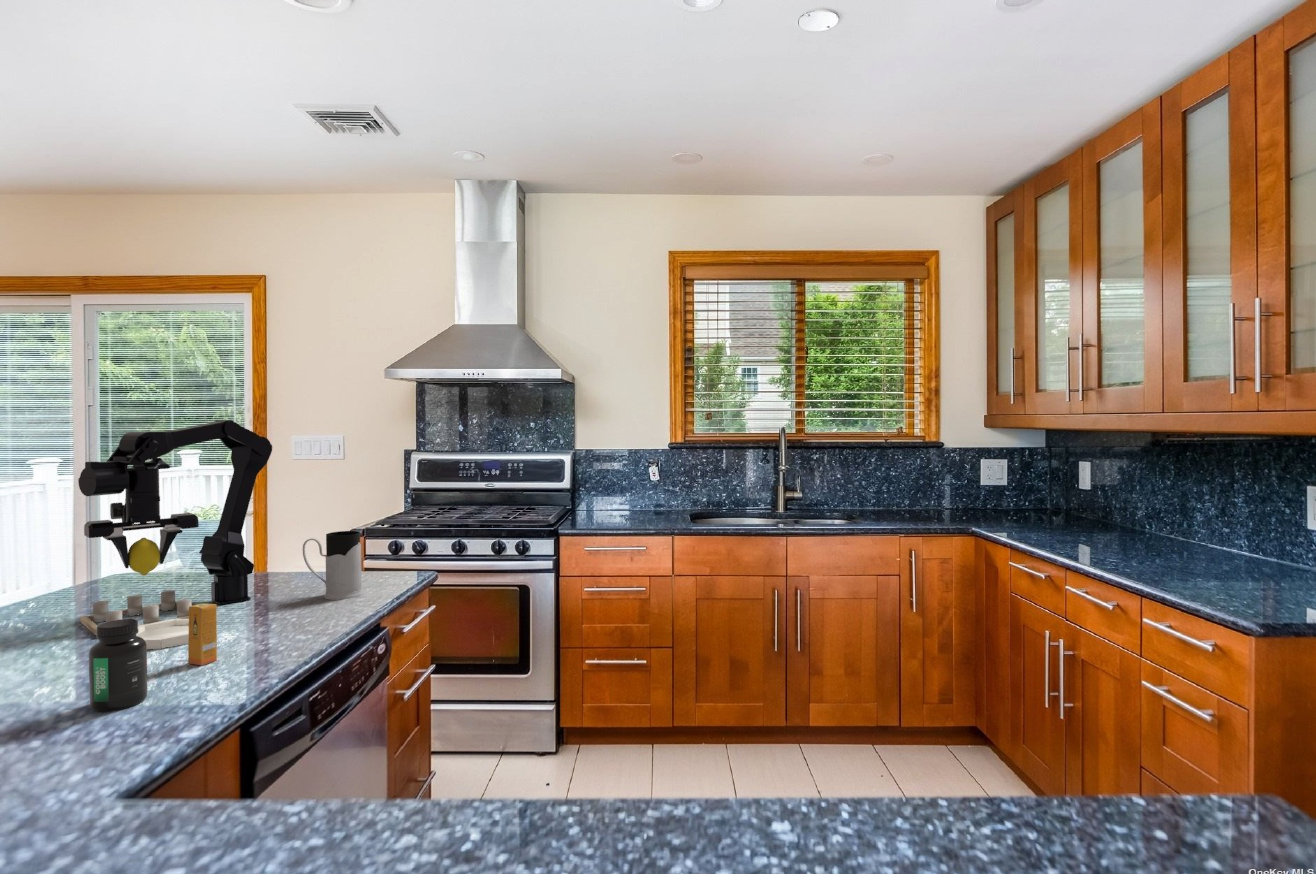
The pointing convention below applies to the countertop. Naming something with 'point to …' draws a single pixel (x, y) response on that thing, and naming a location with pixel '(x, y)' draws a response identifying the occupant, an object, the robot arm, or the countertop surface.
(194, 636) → the supplement box
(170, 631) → the dish
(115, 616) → the spacer field
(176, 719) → the countertop surface
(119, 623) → the supplement bottle
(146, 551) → the lemon
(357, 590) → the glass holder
